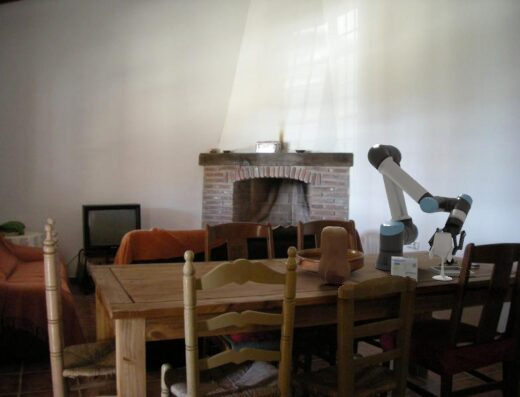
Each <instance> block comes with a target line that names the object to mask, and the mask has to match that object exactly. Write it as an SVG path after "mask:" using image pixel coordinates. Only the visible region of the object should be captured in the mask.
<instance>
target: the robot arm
mask: <svg viewBox="0 0 520 397" xmlns="http://www.w3.org/2000/svg"><path fill="white" fill-rule="evenodd" d="M402 157H403V156H402V153H401V151H400V149H399V148H398V147H397V146H395V145H390V144H381V143H379V144H374V145H372V146H371V147H370V148H369V150H368V153H367V160H368V162H369V163H370V165H371V166H372V167H373V168H374V169H375V170H377V171H378V173H379V174H381V175H382V181H383V184H384V189H385V193H386V198H387V201H388V202H387V203H388V207H389V212H390V216H391V219H390V220H389V221H384V222H382V223H381V224H380V227H379V249H378V255H377V258H376V259H375V263H374V264H375V265H374V267H375V269H378V270H382V271H390V272H391V257H405V256H404V246H409V245H411V244H413V243H414V242H416V240H418V236H419V228H418V227H417V225H416V224H414V221H413V217H411V216H410V215H409V213H408V208H407V205H406V199H405V195H404V192H405V194H407V195H408V196H409V197H410V199H412V200H413V201H414V202H415V203H416V204H418V205H419V208H420V210H421V211H422V212H423V213H426V214H435V213H449V215H448V217H447V219H446V221H445V224H444V226H443V227H442V228H440V227H436V228H435V231H434V233H433V235H432V236H431V237H430V239H429V240H428V241H427V243H428V245H429V249H428V250H429V253H428V258H429V260H433V257H434V254H436V253H435V251H434V246H433V244H434V237H435V233H440V232H442V233H451V237H452V245H453V246H452V248H451V250H450V252H449V255H448V256H446V259H447V261H448V262H449V263H451V261H452V259H453V256H454V257H455V256H456V254H457V252H458V251H462V250H463V248H464V243H465V242H464V241H465V237H466V236H467V231H466V230H462V229H463V227H464V224H465V222H466V220H467V218H468V214H469V212H470V211H471V209H472V205H473V202H474V201H473V198H472V197H471V195H469V194H466V193H460V194H458V196H456V197H447V196H440V195H433V194H432V193H431V192H429V191H428V190H427V189H426V188H425V187H423V186H422V185H421V183H419V182H418V181H417V180H416V179H414V178H413V177H412V176H411V175H410V174H409V173H407V172H406V171H405V170H404V169H403V168H402V167H401V161H402V159H403V158H402ZM458 236H459V239H457V237H458ZM457 240H458V241H457Z"/></svg>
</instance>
